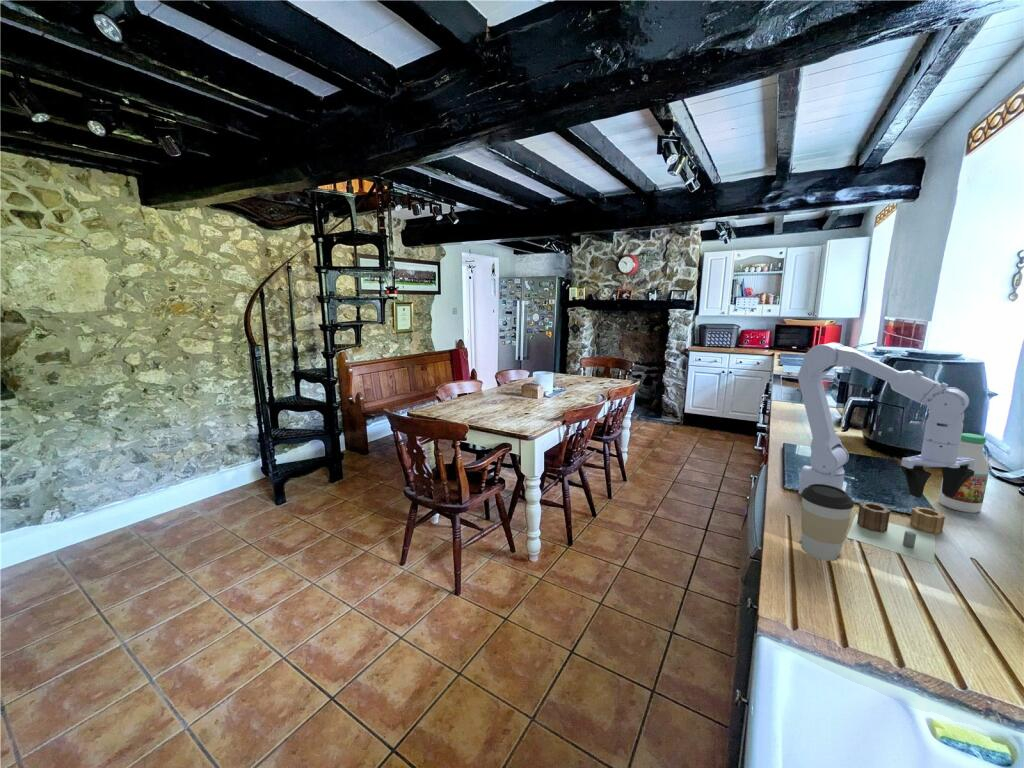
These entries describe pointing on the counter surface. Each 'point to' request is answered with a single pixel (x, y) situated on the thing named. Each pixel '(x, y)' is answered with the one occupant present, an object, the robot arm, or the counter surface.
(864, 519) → the walnut cog
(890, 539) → the board
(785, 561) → the counter surface
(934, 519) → the oak cog
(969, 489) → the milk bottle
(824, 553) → the coffee cup
